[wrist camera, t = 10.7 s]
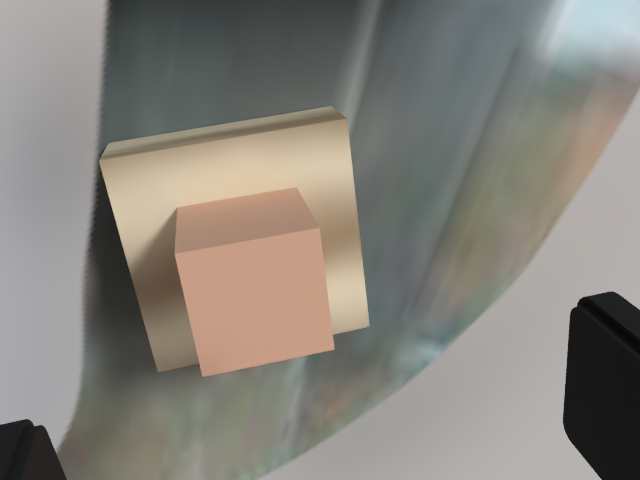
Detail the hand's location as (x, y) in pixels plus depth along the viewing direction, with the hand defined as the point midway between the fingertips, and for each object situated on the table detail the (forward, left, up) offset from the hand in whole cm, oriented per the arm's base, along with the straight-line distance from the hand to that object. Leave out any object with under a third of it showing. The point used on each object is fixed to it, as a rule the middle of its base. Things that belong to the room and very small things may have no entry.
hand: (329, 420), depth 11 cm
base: (+4, -1, -22) cm, 22 cm away
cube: (+4, -1, -18) cm, 19 cm away
